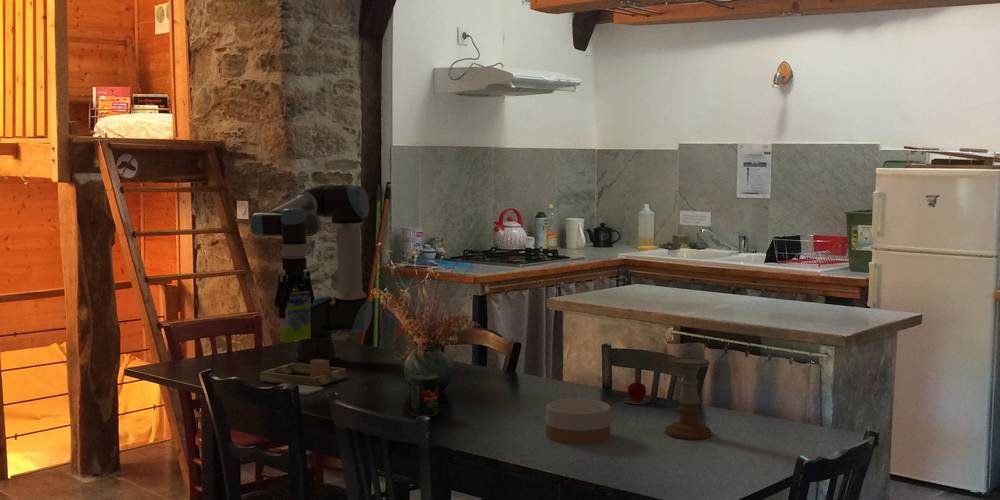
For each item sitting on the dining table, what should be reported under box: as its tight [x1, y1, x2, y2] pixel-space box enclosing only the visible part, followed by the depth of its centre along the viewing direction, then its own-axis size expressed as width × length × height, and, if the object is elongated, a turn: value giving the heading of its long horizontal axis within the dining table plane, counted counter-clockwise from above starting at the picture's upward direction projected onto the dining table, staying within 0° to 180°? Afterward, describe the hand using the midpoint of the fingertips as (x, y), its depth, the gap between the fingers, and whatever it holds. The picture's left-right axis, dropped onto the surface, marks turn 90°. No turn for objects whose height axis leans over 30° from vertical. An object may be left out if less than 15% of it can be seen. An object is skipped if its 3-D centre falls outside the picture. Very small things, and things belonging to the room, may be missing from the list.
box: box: [278, 286, 311, 343], centre depth 328 cm, size 10×4×17 cm, turn 142°
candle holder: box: [664, 356, 712, 440], centre depth 276 cm, size 12×12×20 cm
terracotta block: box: [309, 359, 330, 377], centre depth 343 cm, size 4×5×7 cm
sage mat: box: [277, 383, 324, 396], centre depth 330 cm, size 9×15×1 cm, turn 65°
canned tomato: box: [410, 373, 439, 417], centre depth 298 cm, size 8×8×11 cm
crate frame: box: [259, 362, 347, 387], centre depth 346 cm, size 18×22×3 cm
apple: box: [623, 382, 650, 405], centre depth 314 cm, size 8×8×6 cm
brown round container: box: [545, 398, 612, 446], centre depth 274 cm, size 17×17×8 cm
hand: (295, 326), depth 328 cm, fingers closed on box, 11 cm apart
